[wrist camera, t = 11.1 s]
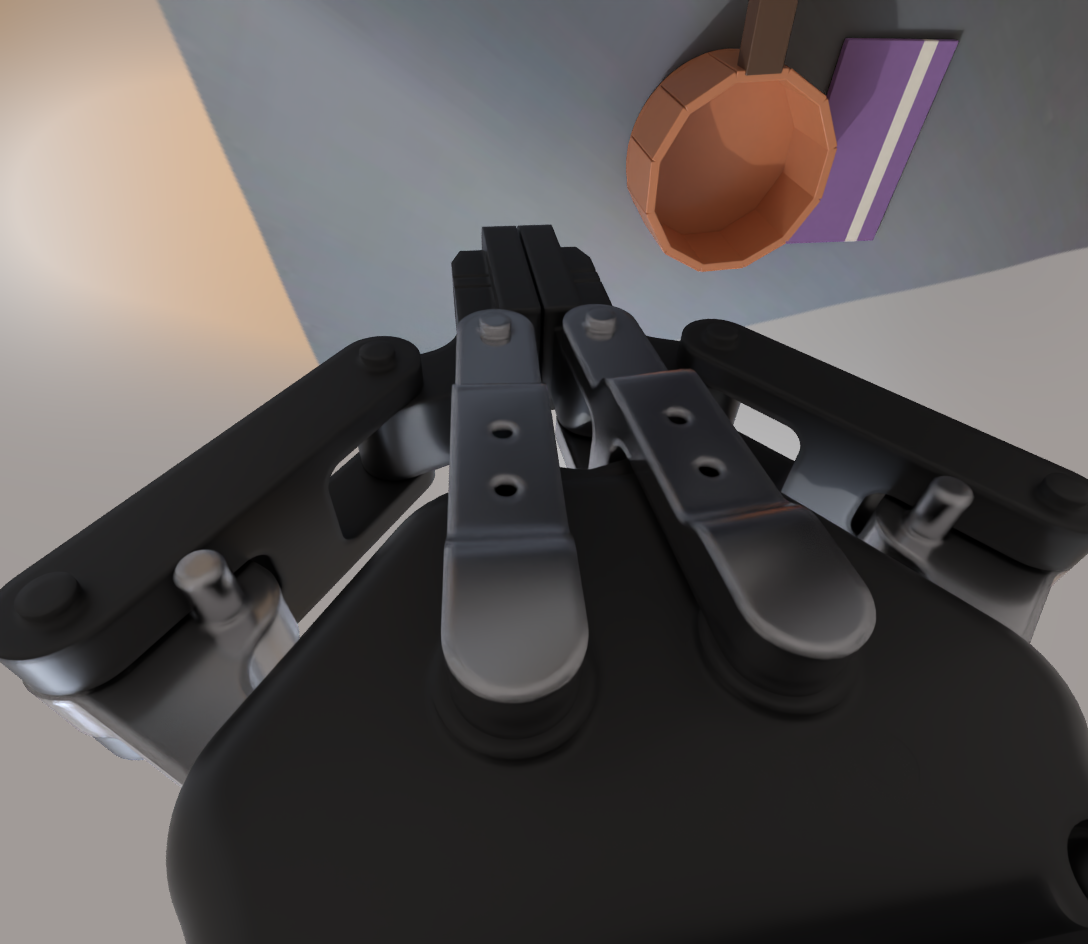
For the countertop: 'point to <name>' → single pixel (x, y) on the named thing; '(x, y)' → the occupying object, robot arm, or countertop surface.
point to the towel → (873, 130)
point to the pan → (732, 149)
